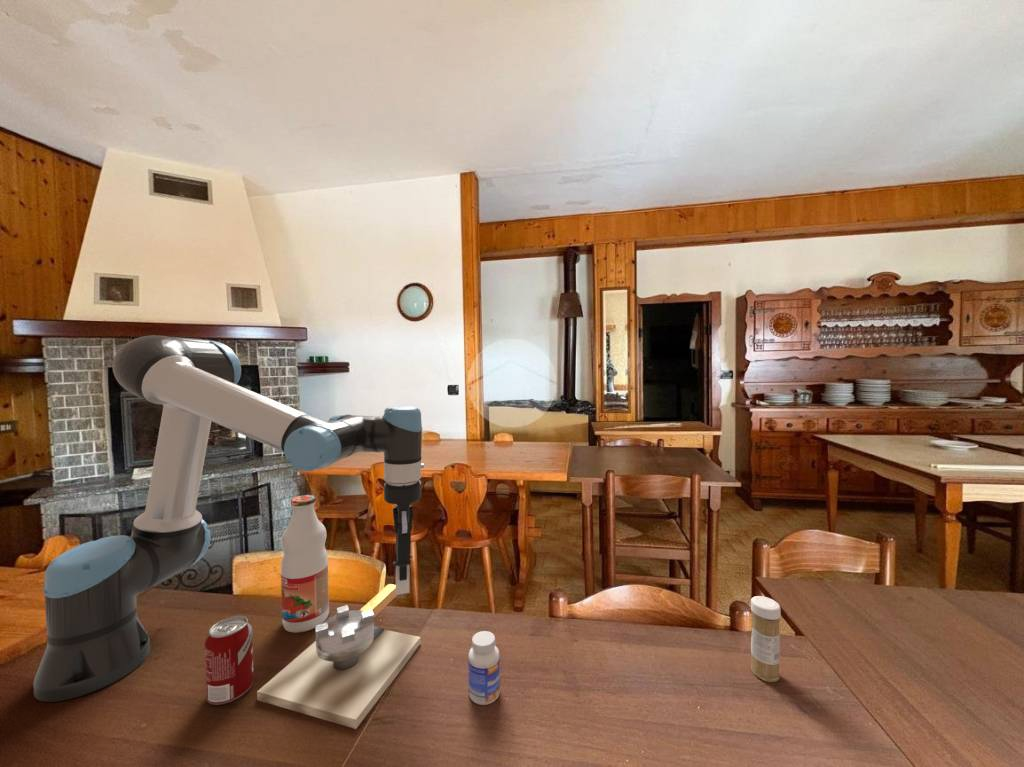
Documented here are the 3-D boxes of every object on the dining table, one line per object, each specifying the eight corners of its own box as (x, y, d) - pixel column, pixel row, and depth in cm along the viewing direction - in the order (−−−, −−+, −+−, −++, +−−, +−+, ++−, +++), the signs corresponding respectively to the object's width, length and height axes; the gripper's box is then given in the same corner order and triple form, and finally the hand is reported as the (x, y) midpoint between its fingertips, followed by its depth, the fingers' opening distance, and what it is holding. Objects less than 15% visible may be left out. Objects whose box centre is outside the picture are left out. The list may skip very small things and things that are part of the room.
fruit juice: (336, 617, 90) (334, 496, 89) (293, 640, 82) (289, 508, 82) (317, 603, 96) (314, 489, 95) (275, 622, 88) (271, 499, 88)
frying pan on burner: (350, 666, 68) (350, 642, 68) (303, 655, 71) (302, 632, 70) (413, 598, 88) (412, 580, 88) (374, 592, 91) (374, 574, 91)
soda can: (229, 711, 65) (227, 640, 65) (196, 705, 66) (193, 635, 66) (263, 680, 72) (261, 615, 71) (232, 675, 73) (230, 611, 73)
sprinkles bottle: (762, 662, 75) (762, 592, 75) (786, 679, 71) (786, 606, 70) (744, 668, 73) (745, 597, 73) (767, 687, 69) (768, 611, 69)
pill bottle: (492, 710, 65) (492, 652, 65) (463, 701, 67) (462, 644, 66) (504, 685, 70) (504, 632, 70) (477, 677, 72) (476, 625, 72)
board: (257, 700, 67) (256, 671, 67) (339, 627, 87) (338, 604, 86) (356, 729, 62) (355, 697, 62) (420, 644, 81) (420, 620, 81)
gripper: (424, 488, 77) (424, 606, 78) (418, 471, 89) (417, 574, 90) (384, 491, 75) (384, 613, 75) (383, 474, 87) (383, 579, 88)
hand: (402, 591), depth 83 cm, fingers closed
